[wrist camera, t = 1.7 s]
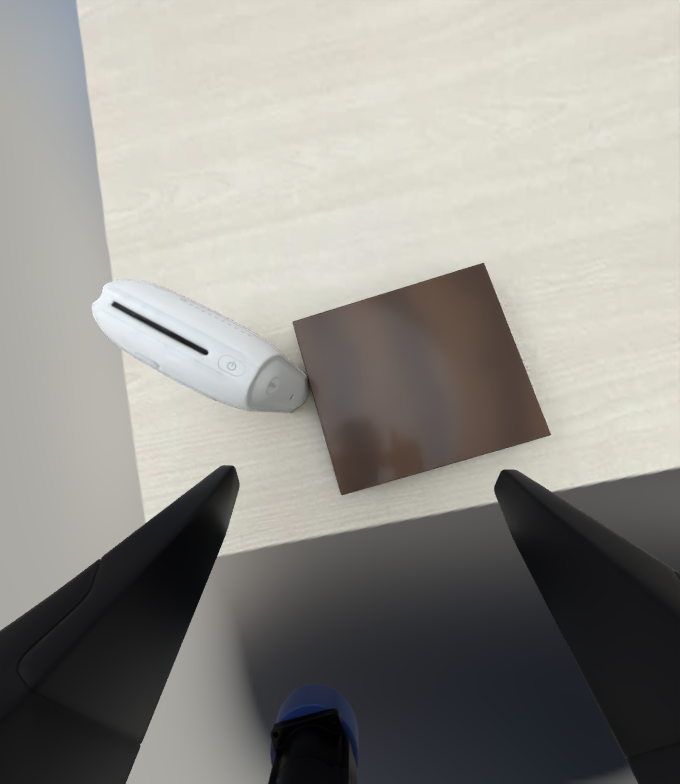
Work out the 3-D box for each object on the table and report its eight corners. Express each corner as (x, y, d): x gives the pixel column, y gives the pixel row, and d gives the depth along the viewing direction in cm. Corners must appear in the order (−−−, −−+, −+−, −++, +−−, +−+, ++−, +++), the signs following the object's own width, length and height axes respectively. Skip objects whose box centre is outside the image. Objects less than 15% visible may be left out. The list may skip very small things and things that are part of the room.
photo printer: (319, 378, 23) (277, 334, 10) (297, 419, 22) (229, 423, 10) (227, 331, 24) (91, 240, 11) (205, 369, 23) (42, 319, 11)
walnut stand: (342, 486, 22) (341, 495, 19) (298, 331, 23) (292, 321, 21) (528, 433, 21) (551, 435, 19) (469, 278, 23) (484, 262, 20)
